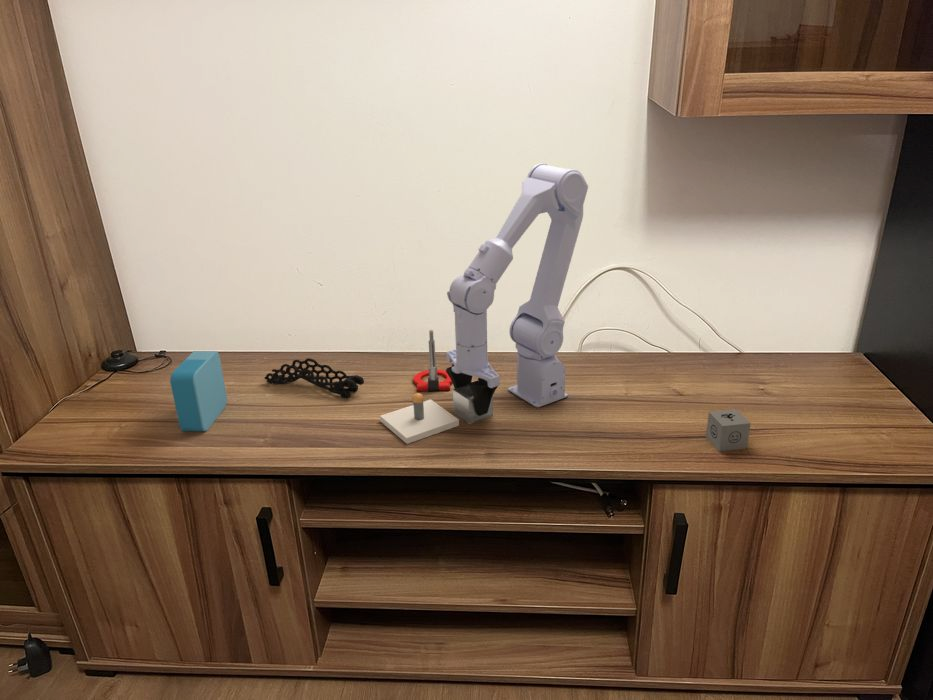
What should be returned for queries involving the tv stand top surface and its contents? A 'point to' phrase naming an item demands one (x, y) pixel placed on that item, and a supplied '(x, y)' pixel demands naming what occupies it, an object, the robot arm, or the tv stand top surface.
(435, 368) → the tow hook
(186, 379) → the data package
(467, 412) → the hollow square tube
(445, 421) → the plate
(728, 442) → the dice cube
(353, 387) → the decorative element
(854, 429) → the tv stand top surface
